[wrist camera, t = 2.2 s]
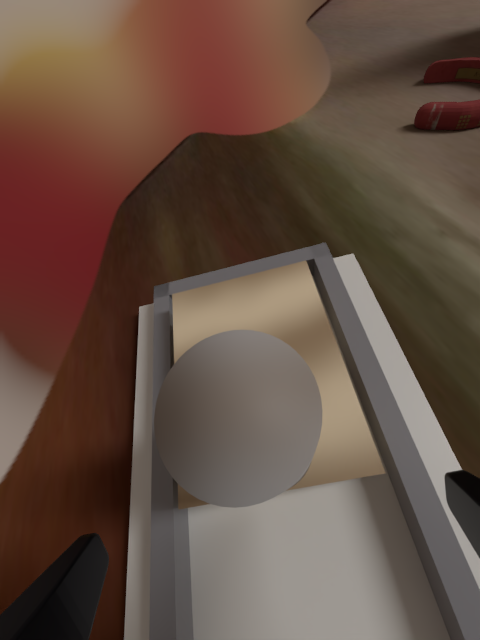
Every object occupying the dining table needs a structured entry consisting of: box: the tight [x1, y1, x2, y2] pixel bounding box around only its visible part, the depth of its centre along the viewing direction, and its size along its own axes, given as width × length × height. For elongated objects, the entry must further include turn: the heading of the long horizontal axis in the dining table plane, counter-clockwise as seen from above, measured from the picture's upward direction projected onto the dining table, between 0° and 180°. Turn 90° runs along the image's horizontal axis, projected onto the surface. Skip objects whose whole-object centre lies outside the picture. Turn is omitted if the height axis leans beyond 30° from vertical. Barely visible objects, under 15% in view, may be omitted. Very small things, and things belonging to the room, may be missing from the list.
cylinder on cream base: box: [154, 261, 385, 509], centre depth 13 cm, size 12×9×11 cm
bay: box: [124, 243, 480, 640], centre depth 15 cm, size 27×18×3 cm, turn 9°
